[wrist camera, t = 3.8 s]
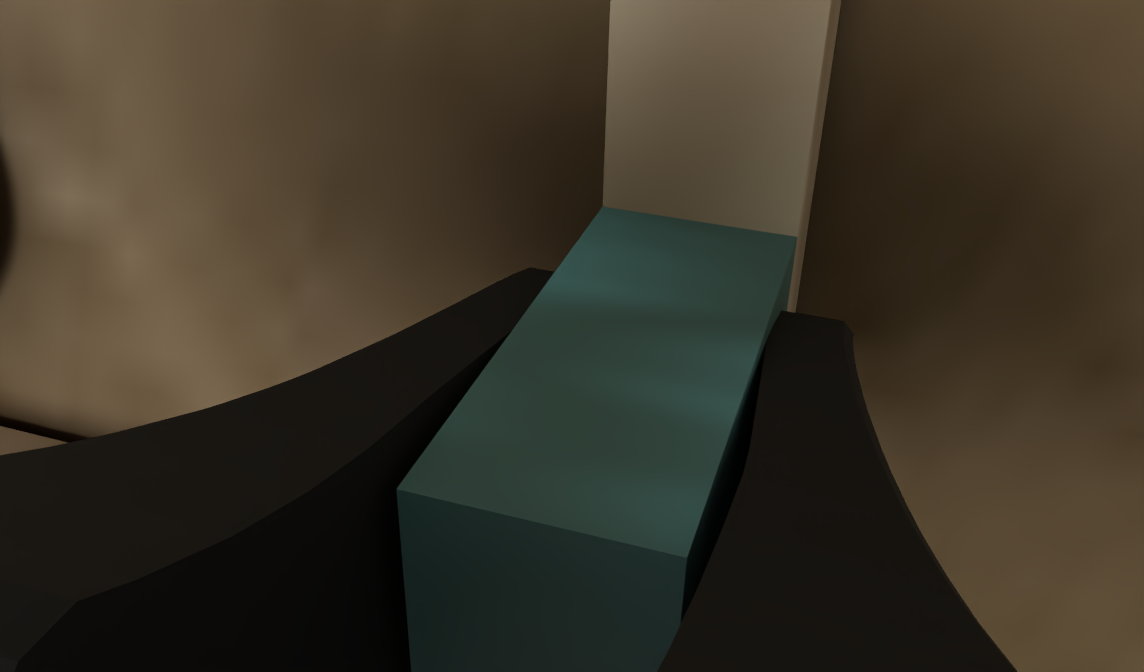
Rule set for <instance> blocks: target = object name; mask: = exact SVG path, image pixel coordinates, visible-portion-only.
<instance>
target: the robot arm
mask: <svg viewBox="0 0 1144 672" xmlns="http://www.w3.org/2000/svg"><path fill="white" fill-rule="evenodd" d="M553 274H554V272H553V271H548V270H542V269H536V268H528V269H525V270H523V271H520V272H518V273H515V274H513V275H511V276H509V277H507V278H505V279H503V280H501V281H498V282H497V283H495V284H493V285H491V286H489V287H487V288H485V289H483V290H481V291H479V292H477V293H475V294H473V295H471V296H469V297H467V298H465V299H463V300H461V301H459V302H457V303H456V304H454V305H452V306H450V307H448V308H446V309H444V310H442V311H440V312H438V313H436V314H434V315H432V316H430V317H428V318H426V319H424V320H422V321H420V322H418V323H416V324H414V325H412V326H410V327H408V328H406V329H404V330H402V331H400V332H398V333H396V334H394V335H392V336H390V337H388V338H385V339H383V340H381V341H379V342H376V343H374V344H372V345H370V346H367V347H365V348H363V349H361V350H359V351H356V352H354V353H352V354H350V355H347V356H345V357H343V358H341V359H338V360H336V361H334V362H332V363H330V364H327V365H325V366H323V367H321V368H318V369H316V370H314V371H311V372H309V373H306V374H304V375H301V376H299V377H296V378H294V379H291V380H288V381H286V382H283V383H280V384H278V385H275V386H272V387H270V388H267V389H264V390H261V391H258V392H255V393H252V394H249V395H246V396H243V397H240V398H237V399H234V400H231V401H228V402H225V403H223V404H219V405H216V406H213V407H210V408H206V409H203V410H199V411H196V412H192V413H188V414H184V415H180V416H177V417H173V418H169V419H165V420H161V421H158V422H154V423H150V424H146V425H142V426H139V427H135V428H131V429H127V430H123V431H120V432H116V433H112V434H108V435H103V436H99V437H94V438H90V439H85V440H80V441H75V442H70V443H65V444H60V445H55V446H50V447H45V448H39V449H33V450H28V451H22V452H16V453H10V454H4V455H0V672H411V661H410V649H409V637H408V625H407V612H406V600H405V588H404V576H403V564H402V551H401V539H400V527H399V515H398V502H397V490H396V489H397V488H398V486H399V485H400V483H401V482H402V481H403V479H404V478H405V477H406V475H407V474H408V472H409V471H410V470H411V468H412V467H413V466H414V464H415V463H416V461H417V460H418V459H419V457H420V456H421V455H422V453H423V452H424V451H425V449H426V448H427V446H428V445H429V444H430V442H431V441H432V440H433V438H434V437H435V435H436V434H437V433H438V431H439V430H440V429H441V427H442V426H443V424H444V423H445V422H446V420H447V419H448V418H449V416H450V415H451V414H452V412H453V411H454V409H455V408H456V407H457V405H458V404H459V403H460V401H461V400H462V398H463V397H464V396H465V394H466V393H467V392H468V390H469V389H470V387H471V386H472V385H473V383H474V382H475V381H476V379H477V378H478V377H479V375H480V374H481V372H482V371H483V370H484V368H485V367H486V366H487V364H488V363H489V361H490V360H491V359H492V357H493V356H494V355H495V353H496V352H497V350H498V349H499V348H500V346H501V345H502V344H503V342H504V341H505V340H506V338H507V337H508V335H509V334H510V333H511V331H512V330H513V329H514V327H515V326H516V324H517V323H518V322H519V320H520V319H521V318H522V316H523V315H524V314H525V312H526V311H527V309H528V308H529V307H530V305H531V304H532V303H533V301H534V300H535V298H536V297H537V296H538V294H539V293H540V292H541V290H542V289H543V287H544V286H545V285H546V283H547V282H548V281H549V279H550V278H551V277H552V275H553ZM853 335H854V334H853V332H852V331H851V330H850V328H849V327H848V325H847V324H846V323H845V321H841V320H835V319H829V318H823V317H817V316H811V315H806V314H800V313H794V312H788V311H782V310H781V312H780V314H779V316H778V317H777V319H776V321H775V323H774V325H773V327H772V329H771V331H770V333H769V335H768V338H767V342H766V348H765V355H764V361H763V367H762V373H761V379H760V386H759V392H758V398H757V404H756V411H755V417H754V423H753V429H752V436H751V442H750V448H749V452H748V456H747V460H746V464H745V468H744V472H743V475H742V478H741V481H740V483H739V486H738V488H737V491H736V494H735V496H734V499H733V502H732V504H731V507H730V509H729V512H728V515H727V517H726V520H725V523H724V525H723V528H722V530H721V533H720V535H719V537H718V540H717V542H716V545H715V547H714V550H713V552H712V554H711V557H710V559H709V562H708V564H707V566H706V569H705V571H704V574H703V576H702V578H701V581H700V583H699V586H698V588H697V590H696V592H695V594H694V596H693V598H692V601H691V603H690V605H689V607H688V609H687V611H686V614H685V616H684V618H683V620H682V622H681V624H680V627H679V629H678V631H677V633H676V635H675V637H674V640H673V642H672V644H671V646H670V648H669V650H668V652H667V654H666V656H665V658H664V660H663V661H662V663H661V665H660V667H659V669H658V671H657V672H1017V670H1016V669H1015V668H1014V667H1013V665H1012V664H1011V663H1010V662H1009V660H1008V659H1007V658H1006V657H1005V655H1004V654H1003V653H1002V652H1001V650H1000V649H999V648H998V647H997V645H996V644H995V643H994V642H993V640H992V639H991V638H990V637H989V635H988V634H987V633H986V631H985V630H984V629H983V628H982V626H981V625H980V624H979V622H978V621H977V620H976V618H975V617H974V615H973V614H972V612H971V611H970V609H969V608H968V607H967V605H966V604H965V602H964V601H963V599H962V598H961V596H960V595H959V593H958V592H957V590H956V589H955V587H954V586H953V584H952V583H951V581H950V580H949V578H948V577H947V575H946V574H945V572H944V570H943V569H942V567H941V565H940V564H939V562H938V560H937V559H936V557H935V555H934V554H933V552H932V550H931V549H930V547H929V546H928V544H927V542H926V540H925V539H924V537H923V535H922V533H921V531H920V530H919V528H918V526H917V524H916V522H915V520H914V518H913V516H912V514H911V512H910V511H909V509H908V507H907V505H906V503H905V500H904V498H903V496H902V494H901V492H900V490H899V488H898V486H897V484H896V481H895V479H894V477H893V475H892V473H891V471H890V468H889V466H888V463H887V461H886V459H885V456H884V454H883V452H882V449H881V446H880V444H879V441H878V438H877V435H876V433H875V430H874V427H873V424H872V422H871V419H870V416H869V413H868V410H867V407H866V404H865V401H864V397H863V394H862V390H861V386H860V382H859V378H858V374H857V370H856V365H855V359H854V352H853Z"/></svg>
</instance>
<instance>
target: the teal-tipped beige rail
mask: <svg viewBox="0 0 1144 672" xmlns="http://www.w3.org/2000/svg"><path fill="white" fill-rule="evenodd" d="M840 7H841V0H610V25H609V51H608V77H607V104H606V130H605V156H604V182H603V207H602V208H601V209H600V211H599V212H598V213H597V215H596V216H595V218H594V219H593V220H592V222H591V223H590V224H589V226H588V227H587V229H586V230H585V231H584V233H583V234H582V235H581V237H580V238H579V240H578V241H577V242H576V244H575V245H574V246H573V248H572V249H571V250H570V252H569V253H568V255H567V256H566V257H565V259H564V260H563V261H562V263H561V264H560V266H559V267H558V268H557V270H556V271H555V272H554V274H553V275H552V277H551V278H550V279H549V281H548V282H547V283H546V285H545V286H544V287H543V289H542V290H541V292H540V293H539V294H538V296H537V297H536V298H535V300H534V301H533V303H532V304H531V305H530V307H529V308H528V309H527V311H526V312H525V314H524V315H523V316H522V318H521V319H520V320H519V322H518V323H517V324H516V326H515V327H514V329H513V330H512V331H511V333H510V334H509V335H508V337H507V338H506V340H505V341H504V342H503V344H502V345H501V346H500V348H499V349H498V350H497V352H496V353H495V355H494V356H493V357H492V359H491V360H490V361H489V363H488V364H487V366H486V367H485V368H484V370H483V371H482V372H481V374H480V375H479V377H478V378H477V379H476V381H475V382H474V383H473V385H472V386H471V387H470V389H469V390H468V392H467V393H466V394H465V396H464V397H463V398H462V400H461V401H460V403H459V404H458V405H457V407H456V408H455V409H454V411H453V412H452V414H451V415H450V416H449V418H448V419H447V420H446V422H445V423H444V424H443V426H442V427H441V429H440V430H439V431H438V433H437V434H436V435H435V437H434V438H433V440H432V441H431V442H430V444H429V445H428V446H427V448H426V449H425V451H424V452H423V453H422V455H421V456H420V457H419V459H418V460H417V461H416V463H415V464H414V466H413V467H412V468H411V470H410V471H409V472H408V474H407V475H406V477H405V478H404V479H403V481H402V482H401V483H400V485H399V486H398V488H397V489H396V490H397V502H398V515H399V527H400V539H401V551H402V564H403V576H404V588H405V600H406V612H407V625H408V637H409V649H410V661H411V672H657V671H658V669H659V667H660V665H661V663H662V661H663V660H664V658H665V656H666V654H667V652H668V650H669V648H670V646H671V644H672V642H673V640H674V637H675V635H676V633H677V631H678V629H679V627H680V624H681V622H682V620H683V618H684V616H685V614H686V611H687V609H688V607H689V605H690V603H691V601H692V598H693V596H694V594H695V592H696V590H697V588H698V586H699V583H700V581H701V578H702V576H703V574H704V571H705V569H706V566H707V564H708V562H709V559H710V557H711V554H712V552H713V550H714V547H715V545H716V542H717V540H718V537H719V535H720V533H721V530H722V528H723V525H724V523H725V520H726V517H727V515H728V512H729V509H730V507H731V504H732V502H733V499H734V496H735V494H736V491H737V488H738V486H739V483H740V481H741V478H742V475H743V472H744V468H745V464H746V460H747V456H748V452H749V448H750V442H751V436H752V429H753V423H754V417H755V411H756V404H757V398H758V392H759V386H760V379H761V373H762V367H763V361H764V355H765V348H766V342H767V338H768V335H769V333H770V331H771V329H772V327H773V325H774V323H775V321H776V319H777V317H778V316H779V314H780V312H781V310H782V311H788V312H794V313H795V312H796V306H797V299H798V292H799V285H800V279H801V272H802V265H803V258H804V251H805V245H806V238H807V231H808V224H809V217H810V211H811V204H812V197H813V190H814V184H815V177H816V170H817V163H818V156H819V150H820V143H821V136H822V129H823V122H824V116H825V109H826V102H827V95H828V89H829V82H830V75H831V68H832V61H833V55H834V48H835V41H836V34H837V27H838V21H839V14H840ZM65 443H67V442H63V441H59V440H55V439H51V438H47V437H43V436H39V435H35V434H31V433H27V432H23V431H19V430H15V429H10V428H6V427H2V426H0V455H4V454H10V453H16V452H22V451H28V450H33V449H39V448H45V447H50V446H55V445H60V444H65Z"/></svg>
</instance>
